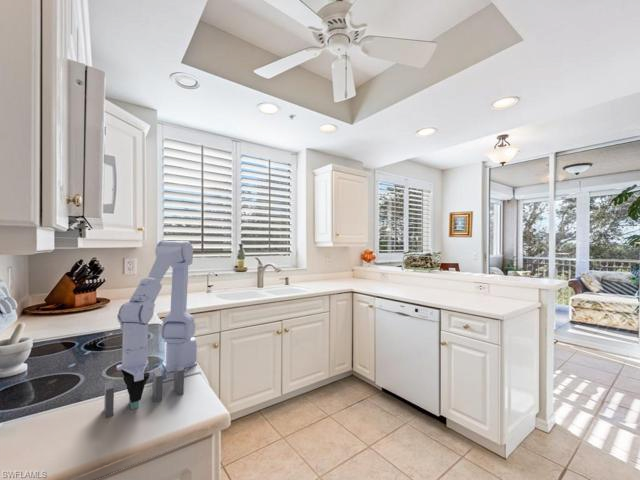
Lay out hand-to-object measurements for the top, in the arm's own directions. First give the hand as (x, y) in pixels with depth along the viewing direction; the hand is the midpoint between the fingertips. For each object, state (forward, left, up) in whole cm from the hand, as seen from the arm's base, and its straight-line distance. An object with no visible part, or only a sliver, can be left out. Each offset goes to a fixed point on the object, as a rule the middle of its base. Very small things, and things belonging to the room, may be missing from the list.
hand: (134, 396), depth 76 cm
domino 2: (0, 0, -2) cm, 2 cm away
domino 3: (-5, 0, -2) cm, 6 cm away
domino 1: (+6, 0, -2) cm, 6 cm away
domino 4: (-11, 0, -2) cm, 11 cm away
